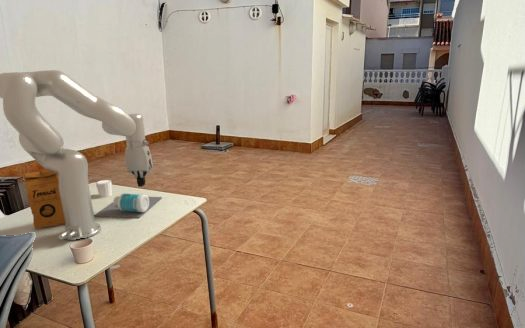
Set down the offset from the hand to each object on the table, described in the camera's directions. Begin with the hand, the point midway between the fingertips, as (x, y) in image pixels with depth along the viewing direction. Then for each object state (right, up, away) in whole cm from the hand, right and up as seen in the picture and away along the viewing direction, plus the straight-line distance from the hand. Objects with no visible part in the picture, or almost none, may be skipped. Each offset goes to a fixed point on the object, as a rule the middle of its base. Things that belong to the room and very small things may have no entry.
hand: (141, 185), depth 147 cm
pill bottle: (+3, -7, -5) cm, 9 cm away
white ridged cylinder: (-24, -6, +19) cm, 31 cm away
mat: (-6, -10, +4) cm, 12 cm away
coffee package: (-31, -15, -11) cm, 36 cm away
